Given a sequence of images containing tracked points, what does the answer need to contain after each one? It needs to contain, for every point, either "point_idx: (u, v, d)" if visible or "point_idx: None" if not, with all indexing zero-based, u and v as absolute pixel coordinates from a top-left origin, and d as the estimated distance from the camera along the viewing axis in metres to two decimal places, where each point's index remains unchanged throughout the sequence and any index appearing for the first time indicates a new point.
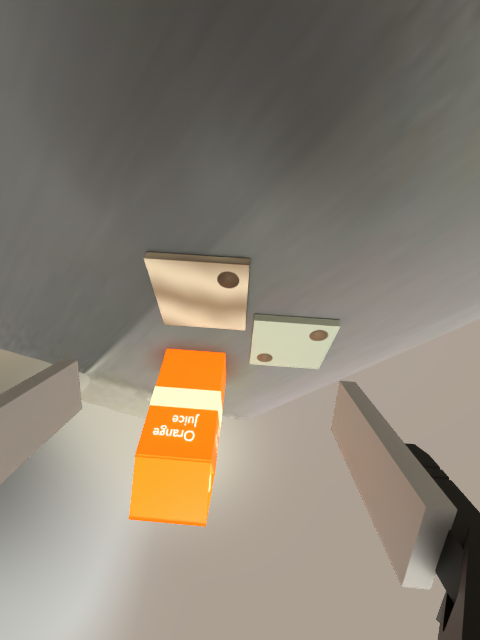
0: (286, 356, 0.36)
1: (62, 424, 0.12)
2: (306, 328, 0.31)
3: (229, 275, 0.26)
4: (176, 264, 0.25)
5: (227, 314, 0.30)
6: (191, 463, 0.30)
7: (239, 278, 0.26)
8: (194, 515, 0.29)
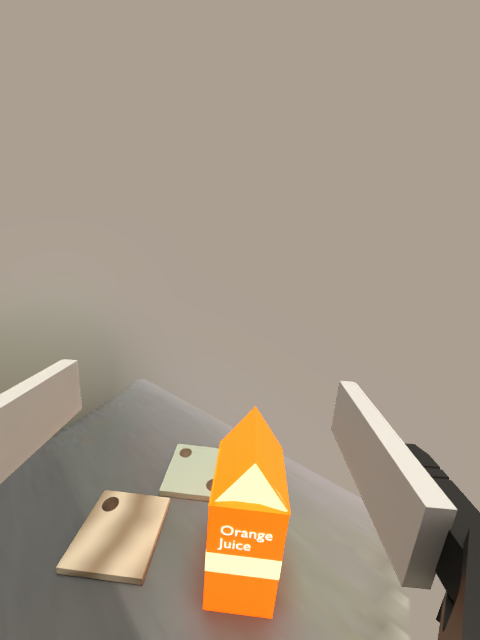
0: (211, 469, 0.45)
1: (62, 424, 0.12)
2: (176, 459, 0.46)
3: (106, 502, 0.38)
4: (77, 539, 0.33)
5: (146, 509, 0.37)
6: (220, 452, 0.31)
7: (112, 496, 0.39)
8: (250, 418, 0.30)
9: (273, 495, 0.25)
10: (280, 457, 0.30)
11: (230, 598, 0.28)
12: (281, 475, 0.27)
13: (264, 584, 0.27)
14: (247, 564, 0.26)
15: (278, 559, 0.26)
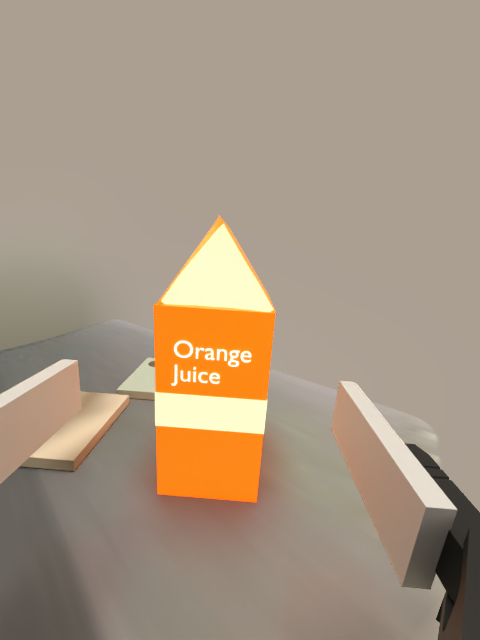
0: None
1: (62, 424, 0.12)
2: (143, 368, 0.38)
3: None
4: None
5: (95, 403, 0.29)
6: None
7: None
8: None
9: (251, 287, 0.16)
10: (264, 290, 0.22)
11: (196, 471, 0.19)
12: (264, 291, 0.19)
13: (242, 444, 0.18)
14: (216, 409, 0.18)
15: (261, 397, 0.17)
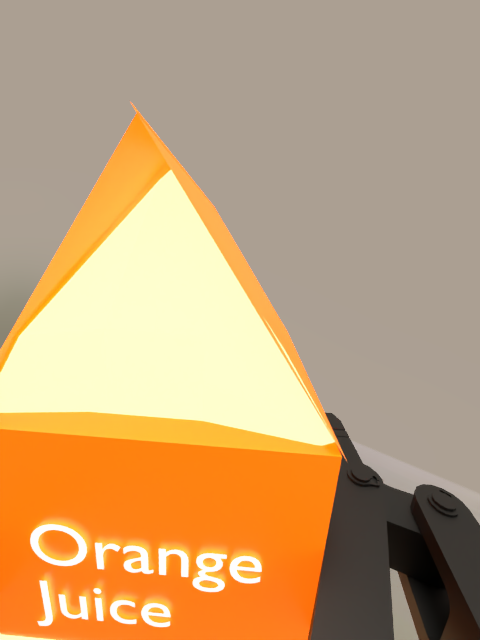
0: None
1: None
2: None
3: None
4: None
5: None
6: None
7: None
8: None
9: (263, 368, 0.05)
10: (284, 330, 0.11)
11: None
12: (290, 347, 0.08)
13: None
14: None
15: None
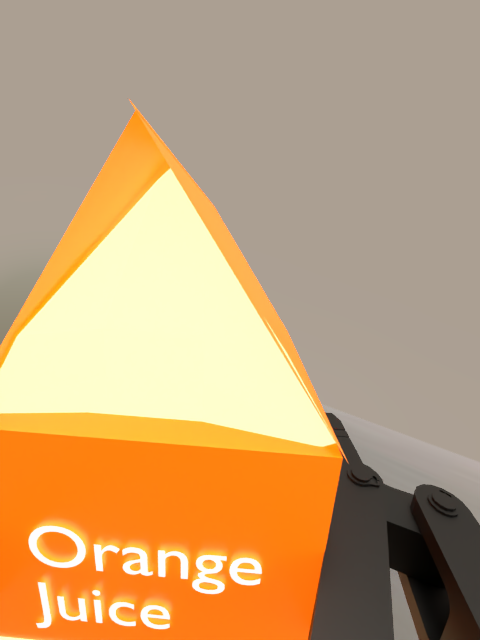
0: None
1: None
2: None
3: None
4: None
5: None
6: None
7: None
8: None
9: (263, 368, 0.05)
10: (284, 330, 0.11)
11: None
12: (290, 347, 0.08)
13: None
14: None
15: None
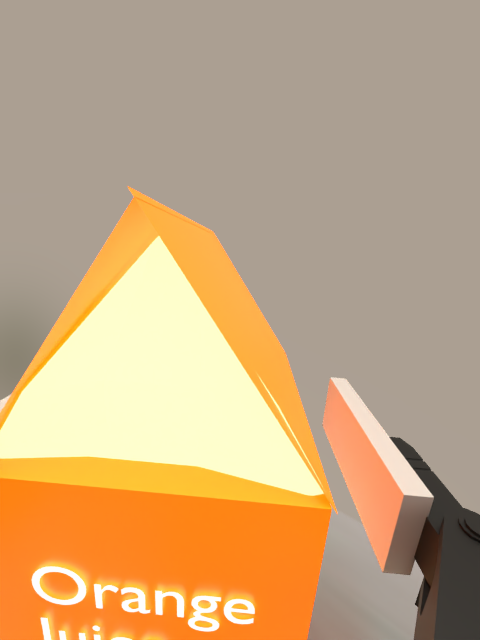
0: None
1: None
2: None
3: None
4: None
5: None
6: None
7: None
8: None
9: (256, 420, 0.05)
10: (282, 356, 0.11)
11: None
12: (286, 381, 0.08)
13: None
14: None
15: None
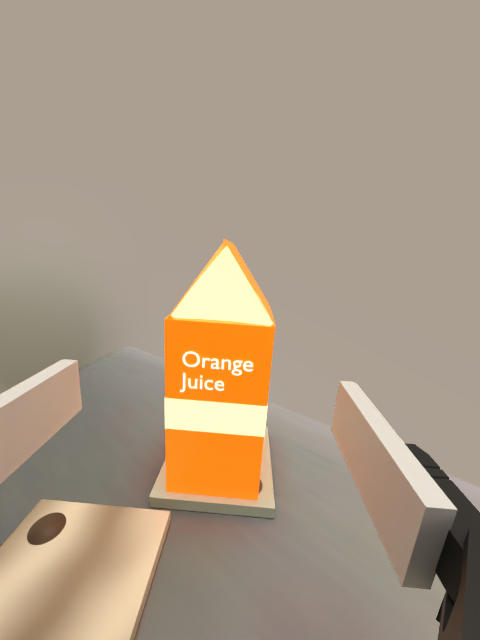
0: None
1: (62, 424, 0.12)
2: None
3: (39, 524, 0.18)
4: None
5: (121, 537, 0.18)
6: None
7: (54, 512, 0.19)
8: None
9: (253, 303, 0.18)
10: (266, 302, 0.24)
11: (201, 470, 0.21)
12: (265, 304, 0.21)
13: (244, 445, 0.20)
14: (220, 413, 0.19)
15: (262, 403, 0.19)
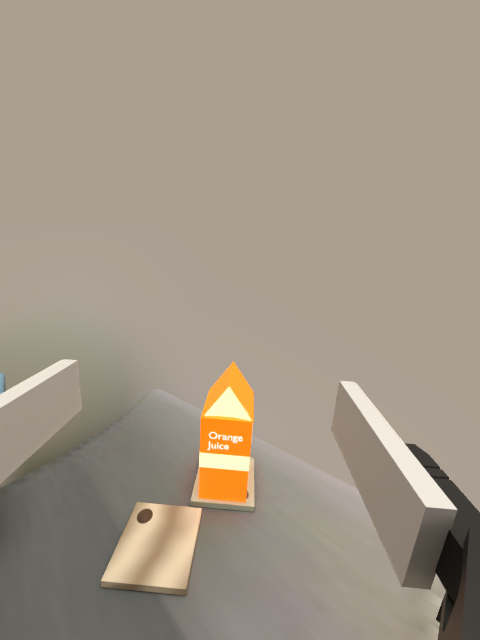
0: None
1: (62, 424, 0.12)
2: None
3: (140, 514, 0.39)
4: (117, 552, 0.34)
5: (180, 520, 0.38)
6: (209, 393, 0.44)
7: (145, 508, 0.39)
8: (229, 368, 0.44)
9: (242, 410, 0.38)
10: (250, 395, 0.44)
11: (217, 487, 0.41)
12: (249, 403, 0.41)
13: (239, 475, 0.40)
14: (227, 460, 0.40)
15: (247, 455, 0.39)
